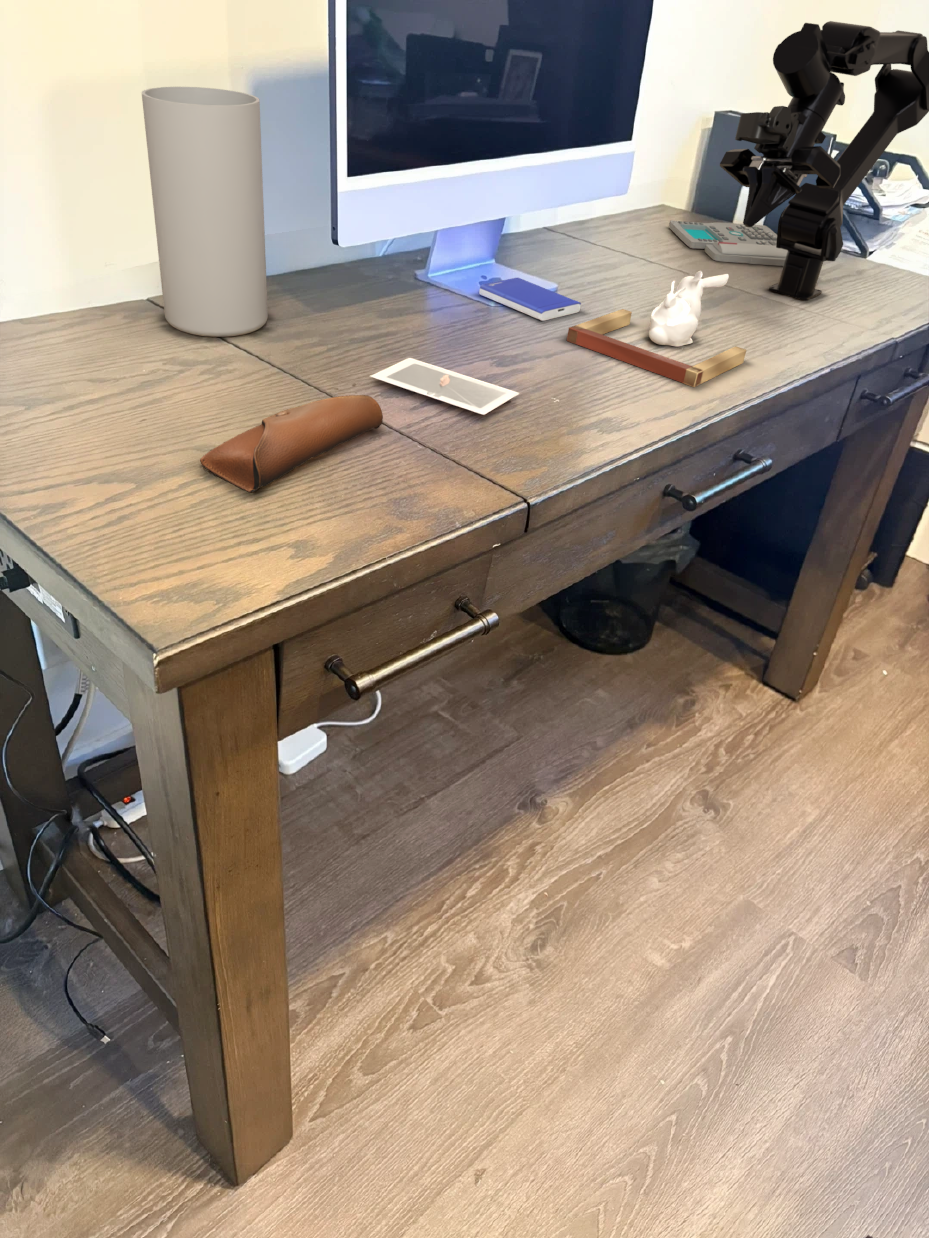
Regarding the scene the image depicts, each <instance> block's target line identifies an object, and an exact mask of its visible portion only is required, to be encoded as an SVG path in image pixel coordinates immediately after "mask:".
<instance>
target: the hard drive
mask: <svg viewBox="0 0 929 1238" xmlns="http://www.w3.org/2000/svg"><path fill="white" fill-rule="evenodd" d="M478 291H479V295H480V296H482V297H485V298H487V299H488V300H489V299H490V300H492V301H493V302H497V303H499V304H501V305H504V306H506V307H508V308H510V309H514V310H516V311H518V312H520V313H523V314H524V315H528V316H530V317H532V318H534V319H537V320H540V321H542V322H543V321H548V320H549V321H550V320H553V319H556V318H561V317H566V316H569V315H573V314H577V313H579V312H580V311H581V308H582V307H581V306H582V303H581V302H580V301H578V300H575V299H572V298H570V297H567V296H565V295H563V294H560V293H558V292H555V291H552V290H551V289H548V288H546V287H543V286H541V285H538V284H535V283H533V282H530V281H528V280H525V279H523V278H520V277H512V278H508V279H507V278H506V279H503V280H497V281H493V282H487V283H483V284H481V285H480V286H479V290H478Z"/></svg>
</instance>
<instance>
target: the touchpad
mask: <svg viewBox="0 0 929 1238" xmlns="http://www.w3.org/2000/svg"><path fill="white" fill-rule="evenodd" d="M369 377H370V378H373V379H377V380H379V381H382V382H385V383H388V384H391V385H394V386H396V387H400V388H403V389H406V390H408V391H411V392H415V393H417V394H420V395H424V396H426V397H429V398H432V399H435V400H438V401H441V402H444V403H447V404H450V405H453V406H456V407H459V408H462V409H465V410H467V411H471V412H474V413H476V414H479V415H483V416H485V415H486V414H488V413H489V412H491V411H493V410H494V409H496V408H498V407H500V406H502V405H503V404H504V403H506V402H508V401H510V400H511V399H513V398H515V397H516V396H518V395H520V392H518V391H515V390H513V389H512V390H511V389H509V388H505V387H503V386H500V385H497V384H493V383H490V382H487V381H483V380H481V379H477V378H474V377H471V376H469V375H465V374H462V373H459V372H456V371H453V370H449V369H447V368H443V367H441V366H437V365H434V364H431V363H427V362H424V361H421V360H419V359H416V358H412V357H407V358H406V359H403V360H401V361H399V362H397V363H395V364H393V365H390V366H389V367H386V368H384V369H381V370H380V371H378V372H375V373H374V374H371V375H369Z"/></svg>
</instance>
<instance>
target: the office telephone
mask: <svg viewBox="0 0 929 1238" xmlns="http://www.w3.org/2000/svg"><path fill="white" fill-rule="evenodd" d="M668 228H669V229H670V230H671V231H672V232H673V233H674V234H675V236H677V237H678V238H679V239H680V240H681V241H682V242H683V243H684V244H685V245H686V246H687V247H688V248H690V249H701V250H703V249H704V252H705V254H707V255H708V257H709V258H711V259H712V260H713V261H716V262H726V263H738V264H751V265H752V264H753V265H762V266H763V265H765V266H778V267H779V266H780V267H783V266H784V262H785V259H786V255H787V252H788V250H785V249H781V248H776V243H777V233H775V232H774V231H773V230H772V229H771V228H770V227H769V226H767V225H764V224H755V225H754V226H752V227H746V226H745V225H744V224H743V223H734V222H715V221H714V222H713V221H712V222H697V221H683V220H673V219H672V220H669V223H668Z"/></svg>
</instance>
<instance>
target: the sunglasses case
mask: <svg viewBox="0 0 929 1238" xmlns="http://www.w3.org/2000/svg"><path fill="white" fill-rule="evenodd" d="M383 419H384V415H383V410H382V408H381V406H380V404H379V402H378V401H377V400H376V399H375V398H373V397H372V396H370V395H366V394H357V395H356V394H352V395H351V394H349V395H338V396H333V397H328V398H323V399H318V400H314V401H311V402H308V403H304V404H302V405H299V406H295V407H290V408H287V409H283V410H281V411H279V412H277V413H275V414H272V415H270V416H268V417H267V416H266V417H264V418H262V420H261V424H259V425H257V426H255V427H252V428H250V429H247V430H245V431H244V432H241V433H239V434H237V435H236V436H234V437H232V438H230V439H228V440H226V441H224V442H223V443H221V444H219V445H217V446H216V447H214V448H212V449H211V450H209V451H208V452H207V453H205V454H204V455H203V456H202V457H201V458H199V462H200V464H201V466H202V467H203V468H205V469H206V470H208V471H209V472H211V473H212V474H214V475H215V476H217V477H218V478H220V479H222V480H224V481H225V482H227V483H229V484H232V485H233V486H235V487H237V488H239V489H242V490H243V491H245V492H247V493H254V492H257V491H258V489H259V488H261V487H266V486H268V485H269V484H271V483H273V482H274V481H277V480H279V479H280V478H282V477H283V476H284V475H286V474H288V473H290V472H291V471H293V470H294V469H295V468H297V467H300V466H302V465H303V464H305V463H306V462H308V461H309V460H310V459H312V458H316V457H318V456H320V455H322V454H324V453H326V452H329V451H330V450H332V449H334V448H336V447H337V446H339V445H341V444H344V443H347V442H349V441H351V440H353V439H354V438H356V437H358V436H360V435H362V434H364V433H367V432H369V431H371V430H373V429H377V430H378V429H379V428H380V427H381V426H382V425H383Z"/></svg>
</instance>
